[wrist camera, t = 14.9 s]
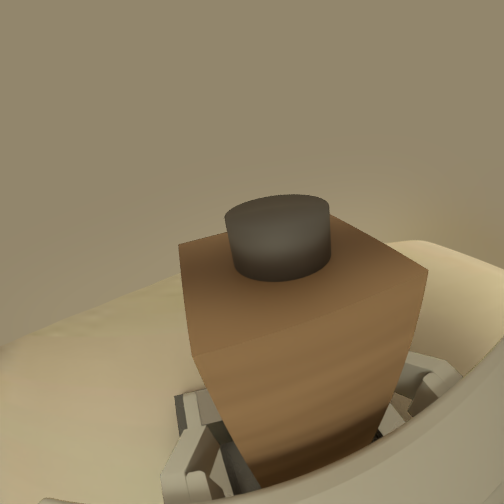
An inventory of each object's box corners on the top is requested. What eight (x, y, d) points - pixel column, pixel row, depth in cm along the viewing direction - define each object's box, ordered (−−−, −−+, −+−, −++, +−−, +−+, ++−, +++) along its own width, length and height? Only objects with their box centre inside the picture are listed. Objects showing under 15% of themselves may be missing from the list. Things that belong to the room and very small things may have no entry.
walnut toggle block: (356, 468, 11) (435, 217, 4) (271, 502, 10) (167, 295, 4) (320, 410, 15) (318, 176, 9) (246, 436, 14) (168, 208, 8)
